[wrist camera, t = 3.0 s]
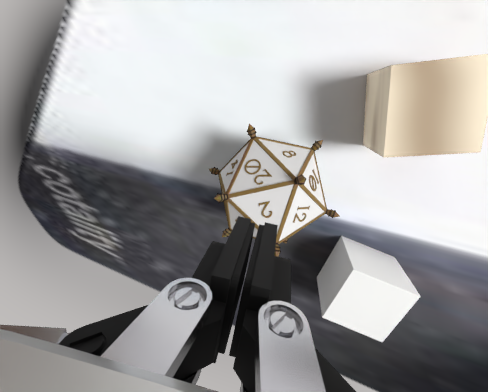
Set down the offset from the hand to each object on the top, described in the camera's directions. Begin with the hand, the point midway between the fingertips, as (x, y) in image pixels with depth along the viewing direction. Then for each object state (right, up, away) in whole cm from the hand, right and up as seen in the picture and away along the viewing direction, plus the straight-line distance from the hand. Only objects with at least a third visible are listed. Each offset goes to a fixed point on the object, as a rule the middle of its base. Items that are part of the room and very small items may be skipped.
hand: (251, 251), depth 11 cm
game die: (+2, +4, +11) cm, 12 cm away
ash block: (+11, +9, +8) cm, 16 cm away
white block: (+10, -4, +13) cm, 17 cm away
